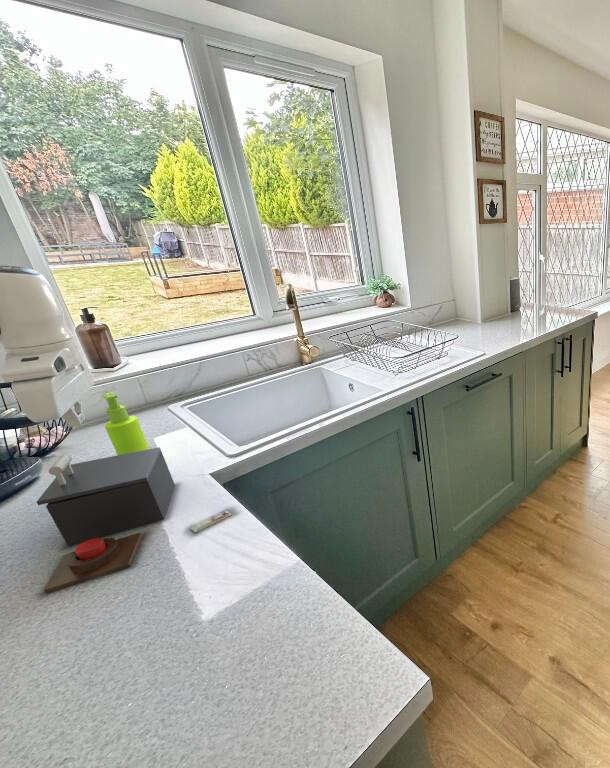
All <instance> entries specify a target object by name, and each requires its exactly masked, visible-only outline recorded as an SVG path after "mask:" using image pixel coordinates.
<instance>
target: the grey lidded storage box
mask: <svg viewBox="0 0 610 768" xmlns="http://www.w3.org/2000/svg"><path fill="white" fill-rule="evenodd" d="M175 487H176V484H175V481H174V479H173V477H172V474H171V471H170V469H169V467H168V464H167V461H166V459H165V457H164V454H163V452H162V450H161V451H160V453H159V455H158V458H157V460H156V462H155V465H154V467H153V469H152V471H151V474H150V476H149V478H148V481H145V482H140V483H136V484H131V485H127V486H122V487H118V488H113V489H109V490H104V491H100V492H96V493H91V494H87V495H82V496H78V497H73V498H69V499H64V500H60V501H55V502H51V503H46V505H45V507H46V509H47V511H48V513H49V515H50V517H51V518H52V520H53V522H54V524H55V526H56V527H57V530H59V533H60V535H61V537H62V538H63V540H64V541H65V543H66V545H67V547H69V548H70V547H72V546H76V545H80V544H82V543H84V542H85V541H88V540H90V539H94V538H105V537H107V536H111V535H112V536H113V535H115V534H119V533H121V532H125V531H130V530H133V529H137V528H139V527H143V526H146V525H150V524H153V523H157V522H160V521H164V520H165V519H166V516H167V512H168V509H169V506H170V503H171V499H172V496H173V494H174V490H175Z"/></svg>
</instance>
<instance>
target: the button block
mask: <svg viewBox="0 0 610 768" xmlns="http://www.w3.org/2000/svg"><path fill="white" fill-rule="evenodd" d="M102 539H103V541H104V543H105V545H106V550H104V551H103V552H102V553H101V554H99V555H97V556H95V557H93V558H90V559H86V560H80V559H79V558H78V556H77V554H76V552H75V551H73V552H69V553H65V554H64V555H63V557H62V558H61V560H60V562H59V563H58V565H57V567H56V569H55V570H54V571H53V574H52V575H51V577H50V578H49V580H48V582H47V584H46V585H45V587H44V589H43V591H44V593H45V595H47V594H51V593H54V592H57V591H59V590H60V591H61V590H63V589H66V588H68V587H72V586H75V585H79V584H81V583H84V582H88V581H92V580H94V579H97V578H101V577H104V576H107V575H110V574H113V573H116V572H119V571H123V570H126V569H130V568H131V567H132V566H133V563H134V560H135V558H136V555H137V552H138V549H139V548H140V547H139V546H140V544H141V541H142V539H143V533H142V532H138V533H134V534H131V535H128V536H124V537H120V538H118V539H115V538H114V537H102Z"/></svg>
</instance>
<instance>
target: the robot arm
mask: <svg viewBox="0 0 610 768" xmlns="http://www.w3.org/2000/svg"><path fill="white" fill-rule="evenodd" d="M65 318H66V317H65V312H64V309H63V307H62V305H61V303H60V301H59V298H58V297H57V294H56V293H55V291H54V289H53V287H52V286H51V284H50V282H49V281H48V280H47V279H46V278H45V276H44V275H43V274H42V273H40V272H39V271H37V270H34V269H32V268H28V267H24V266H17V265H16V266H14V265H0V344H1V346H2V347H3V349H4V352H5V358H4V359H5V360H4V363H3V365H2V367H1V368H0V376H1V379H2V380H3V381H4V383H11V382H12V383H11V391H12V393H13V395H14V397H15V399H16V401H17V402H18V405H19V406H20V408H21V409H22V411H23V413H24V414H25V416H26V418H28V419H29V420H30V421H31V422H33V423H44V422H49V421H55V420H60V419H61V418H62V419H63V420H64V422H65V423H66V426H67V427H68V428H74V427H79V426H80V425H81V424H82V423H83V422H84V421H85V420H86V417H85V415H84V412H83V411H84V410H83V401H82V399H81V398H83V396H84V395H85V394H87V392H88V391H89V390H90V389H91V388H93V387H94V385H95V379H94V376H93V374H92V372H91V370H90V367H89V366H88V364H87V362H86V360H85V358H84V357H83V355H82V352H81V350H80V347H79V345H78V343H77V340H76V337H75V335H74V334H73V331H71V330H70V329H69V328H68V326H67V324H66V321H65Z"/></svg>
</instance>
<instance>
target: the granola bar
mask: <svg viewBox="0 0 610 768" xmlns="http://www.w3.org/2000/svg"><path fill="white" fill-rule="evenodd" d="M230 516H232V513H231V512H230V511H229V510H222V511H220V512H218V513H216V514H214V515H212V516H210V517H208V518H205V519H204V520H203V519H202V520H201V521H199V522H197V523H195V524H194V525H193V526H191V527H189V529H190V530H191V531H193V533H197V532H199V531H202V530H204V529H206V528H208V527H210V526H212V525H214V524H216V523H218V522H220V521H222V520H224V519H226V518H228V517H230Z"/></svg>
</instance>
